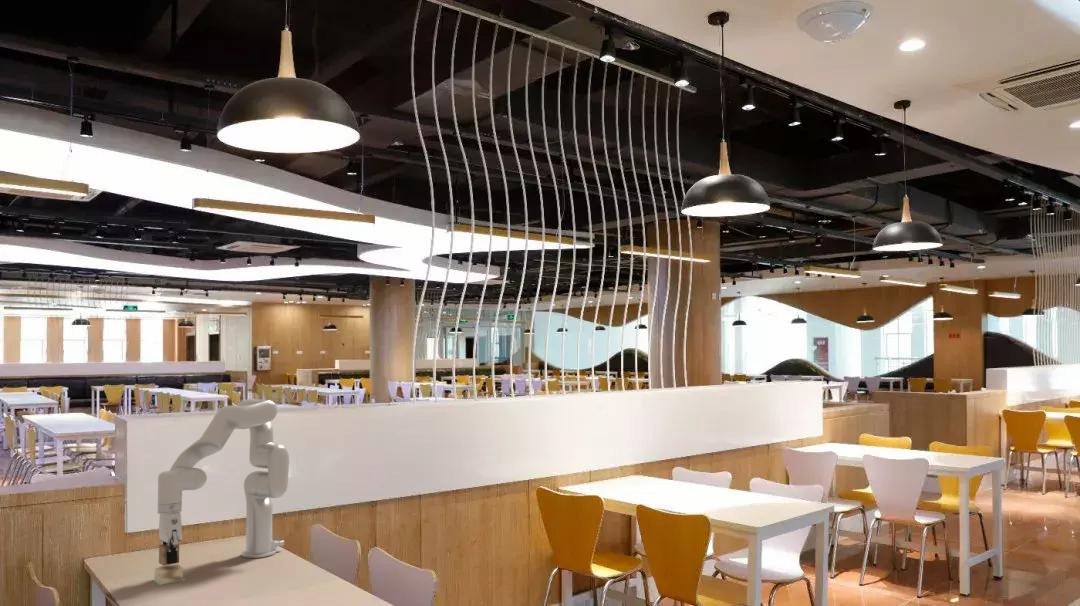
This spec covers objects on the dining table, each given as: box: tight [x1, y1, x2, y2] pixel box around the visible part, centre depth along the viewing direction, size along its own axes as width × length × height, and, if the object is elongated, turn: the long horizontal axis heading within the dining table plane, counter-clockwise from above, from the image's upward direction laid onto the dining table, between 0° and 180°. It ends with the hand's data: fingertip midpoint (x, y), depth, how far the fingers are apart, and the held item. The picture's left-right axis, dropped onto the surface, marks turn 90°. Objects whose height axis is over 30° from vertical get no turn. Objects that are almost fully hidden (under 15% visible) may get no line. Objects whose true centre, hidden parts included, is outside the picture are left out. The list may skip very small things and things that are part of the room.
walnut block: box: [158, 543, 180, 566], centre depth 266 cm, size 5×5×6 cm
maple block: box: [154, 563, 184, 585], centre depth 266 cm, size 7×7×4 cm
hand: (169, 560), depth 266 cm, fingers closed on walnut block, 4 cm apart
